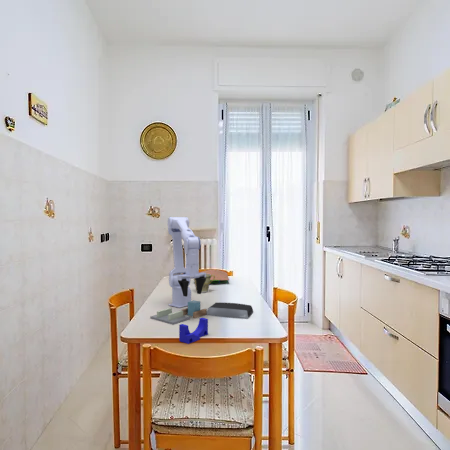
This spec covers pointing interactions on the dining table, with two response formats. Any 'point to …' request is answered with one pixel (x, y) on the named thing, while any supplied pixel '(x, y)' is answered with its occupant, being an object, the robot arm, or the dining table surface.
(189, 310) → the blue rectangular block
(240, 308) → the external hard drive
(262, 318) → the dining table surface
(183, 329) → the blue cradle holder
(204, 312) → the cradle
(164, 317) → the dock
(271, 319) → the dining table surface
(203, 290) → the ceramic cup
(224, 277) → the sandwich
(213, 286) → the dining table surface
